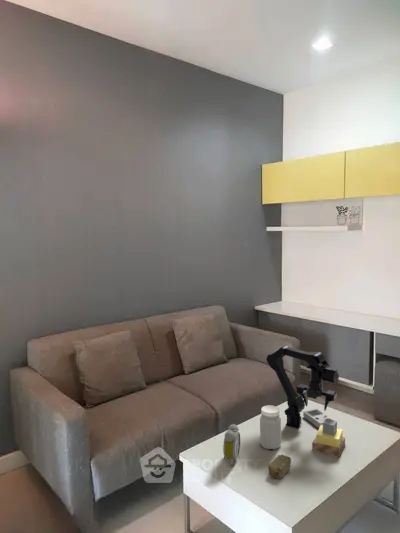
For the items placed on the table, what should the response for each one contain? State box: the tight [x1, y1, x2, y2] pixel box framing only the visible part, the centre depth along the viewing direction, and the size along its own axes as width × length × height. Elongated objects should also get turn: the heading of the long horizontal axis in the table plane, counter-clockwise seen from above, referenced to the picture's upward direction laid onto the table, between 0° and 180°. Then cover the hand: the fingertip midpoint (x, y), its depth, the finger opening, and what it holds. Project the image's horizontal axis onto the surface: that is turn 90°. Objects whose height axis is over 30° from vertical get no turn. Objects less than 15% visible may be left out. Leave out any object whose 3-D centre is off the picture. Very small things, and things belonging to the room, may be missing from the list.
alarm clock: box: [222, 423, 241, 467], centre depth 181 cm, size 12×7×15 cm, turn 161°
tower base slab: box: [311, 436, 346, 458], centre depth 189 cm, size 12×12×4 cm
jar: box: [259, 404, 282, 450], centre depth 192 cm, size 10×10×18 cm
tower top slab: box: [315, 425, 344, 448], centre depth 189 cm, size 10×10×4 cm
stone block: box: [267, 454, 292, 480], centre depth 172 cm, size 6×12×5 cm, turn 143°
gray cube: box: [323, 418, 338, 436], centre depth 189 cm, size 5×5×5 cm
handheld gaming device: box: [302, 407, 333, 429], centre depth 214 cm, size 9×15×4 cm, turn 20°
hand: (315, 408), depth 201 cm, fingers open, 9 cm apart
